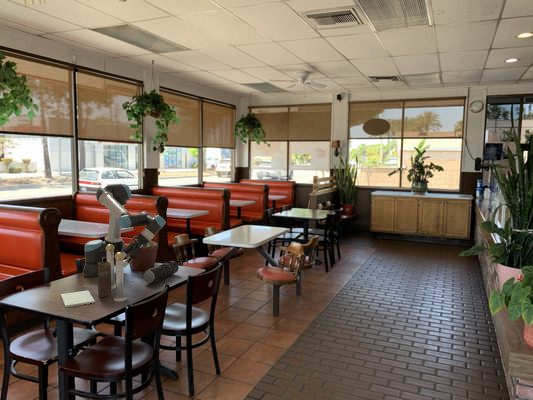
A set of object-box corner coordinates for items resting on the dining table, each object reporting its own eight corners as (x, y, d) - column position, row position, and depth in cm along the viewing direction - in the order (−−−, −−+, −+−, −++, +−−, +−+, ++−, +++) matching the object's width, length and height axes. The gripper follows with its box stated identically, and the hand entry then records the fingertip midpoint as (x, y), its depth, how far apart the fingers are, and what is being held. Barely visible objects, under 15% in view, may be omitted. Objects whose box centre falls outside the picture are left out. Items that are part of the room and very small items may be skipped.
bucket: (122, 267, 313) (122, 234, 310) (151, 263, 326) (150, 231, 324) (134, 275, 293) (134, 240, 291) (164, 270, 307) (164, 236, 304)
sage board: (65, 307, 229) (65, 305, 229) (60, 296, 247) (60, 294, 247) (94, 303, 237) (94, 300, 237) (88, 292, 255) (88, 290, 255)
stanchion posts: (115, 302, 237) (114, 254, 235) (103, 287, 265) (102, 243, 262) (128, 300, 241) (127, 252, 238) (115, 285, 269) (114, 242, 266)
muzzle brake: (179, 275, 295) (179, 261, 294) (154, 286, 269) (154, 270, 268) (167, 273, 299) (167, 259, 298) (142, 284, 273) (142, 268, 272)
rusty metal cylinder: (100, 293, 253) (99, 260, 251) (113, 293, 254) (112, 260, 252) (96, 297, 246) (95, 264, 244) (109, 297, 246) (108, 263, 244)
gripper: (155, 244, 250) (130, 272, 244) (143, 237, 271) (120, 263, 265) (146, 236, 247) (120, 264, 240) (135, 230, 268) (111, 255, 261)
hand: (120, 264), depth 252 cm, fingers open, 13 cm apart
